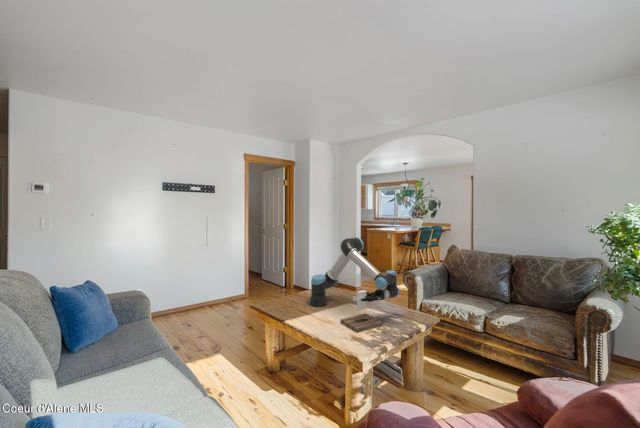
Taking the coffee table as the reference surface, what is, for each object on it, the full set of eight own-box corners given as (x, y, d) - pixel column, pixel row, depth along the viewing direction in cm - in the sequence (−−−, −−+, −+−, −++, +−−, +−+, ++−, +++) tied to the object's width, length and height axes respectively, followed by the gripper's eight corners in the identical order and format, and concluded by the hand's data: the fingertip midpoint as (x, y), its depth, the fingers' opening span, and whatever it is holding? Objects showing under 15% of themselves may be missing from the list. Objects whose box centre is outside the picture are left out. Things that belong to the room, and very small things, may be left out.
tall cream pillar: (356, 308, 196) (356, 291, 196) (363, 307, 199) (363, 290, 199) (359, 310, 193) (359, 292, 193) (366, 308, 196) (366, 291, 196)
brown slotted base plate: (340, 322, 199) (340, 319, 199) (365, 316, 210) (365, 313, 210) (356, 332, 183) (356, 328, 183) (382, 325, 194) (382, 321, 194)
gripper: (389, 302, 198) (362, 309, 186) (373, 296, 212) (348, 302, 200) (389, 291, 198) (362, 297, 186) (373, 286, 212) (348, 291, 200)
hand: (355, 299), depth 193 cm, fingers closed on tall cream pillar, 3 cm apart
